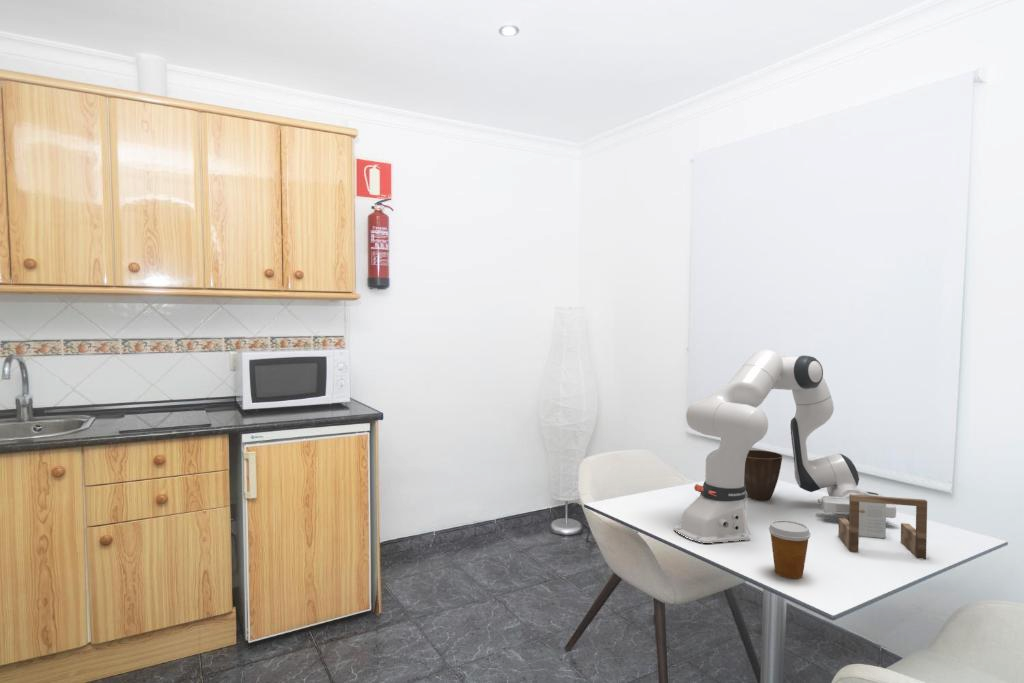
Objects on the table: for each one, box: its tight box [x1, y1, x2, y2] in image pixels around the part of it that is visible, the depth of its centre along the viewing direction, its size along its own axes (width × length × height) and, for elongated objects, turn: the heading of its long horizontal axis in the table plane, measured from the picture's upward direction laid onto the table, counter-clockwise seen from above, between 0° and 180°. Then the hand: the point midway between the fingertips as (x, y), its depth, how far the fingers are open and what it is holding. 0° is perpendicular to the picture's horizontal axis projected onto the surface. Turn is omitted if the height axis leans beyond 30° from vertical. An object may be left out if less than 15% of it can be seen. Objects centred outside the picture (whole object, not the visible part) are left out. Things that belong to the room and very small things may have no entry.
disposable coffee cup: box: [767, 519, 812, 580], centre depth 144 cm, size 10×10×12 cm
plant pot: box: [744, 449, 783, 502], centre depth 208 cm, size 15×15×16 cm
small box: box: [859, 502, 887, 539], centre depth 172 cm, size 8×6×10 cm
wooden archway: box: [837, 494, 928, 560], centre depth 161 cm, size 12×18×16 cm, turn 74°
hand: (864, 514), depth 174 cm, fingers closed
